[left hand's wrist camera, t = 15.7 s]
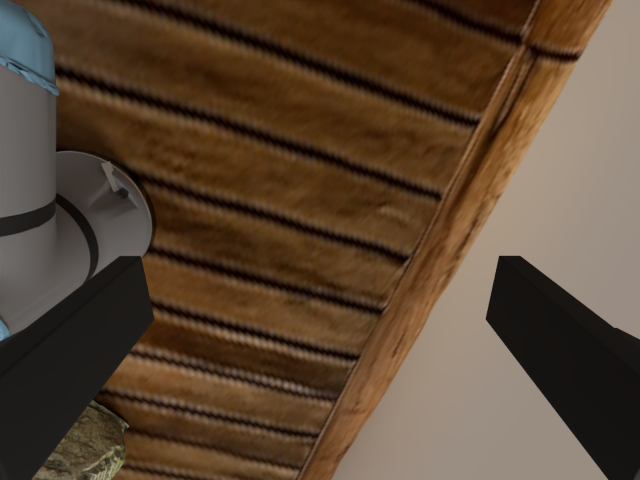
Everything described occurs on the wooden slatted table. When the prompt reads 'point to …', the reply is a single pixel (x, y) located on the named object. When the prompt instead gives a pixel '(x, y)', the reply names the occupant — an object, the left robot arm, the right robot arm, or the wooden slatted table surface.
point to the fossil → (88, 448)
